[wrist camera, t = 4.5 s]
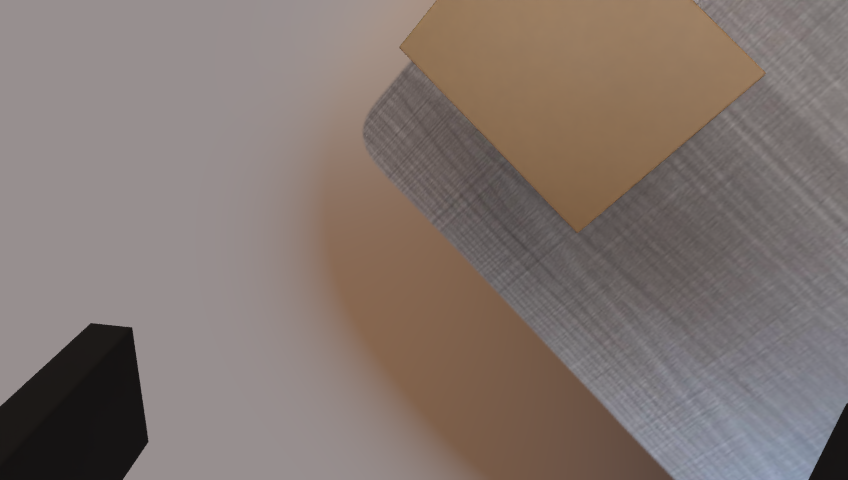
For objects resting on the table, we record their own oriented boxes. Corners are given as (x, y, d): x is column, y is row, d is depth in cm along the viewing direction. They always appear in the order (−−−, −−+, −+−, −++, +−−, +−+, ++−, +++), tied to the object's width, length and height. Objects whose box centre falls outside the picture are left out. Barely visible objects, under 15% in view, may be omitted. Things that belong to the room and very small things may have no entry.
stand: (492, 61, 36) (398, 47, 22) (588, -46, 33) (549, -142, 19) (602, 173, 36) (577, 233, 22) (711, 77, 32) (767, 73, 18)
